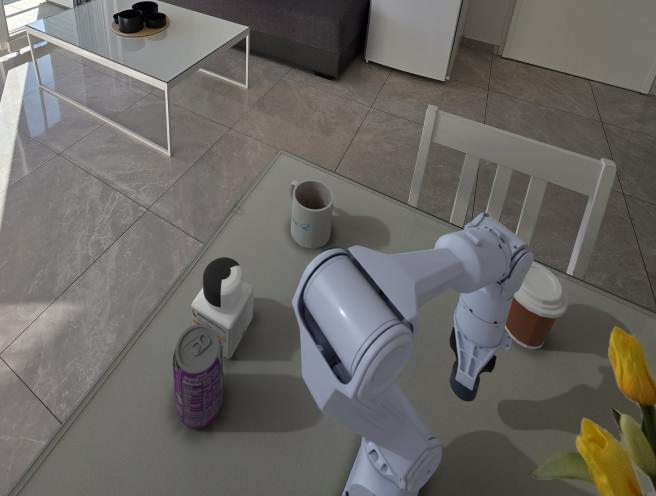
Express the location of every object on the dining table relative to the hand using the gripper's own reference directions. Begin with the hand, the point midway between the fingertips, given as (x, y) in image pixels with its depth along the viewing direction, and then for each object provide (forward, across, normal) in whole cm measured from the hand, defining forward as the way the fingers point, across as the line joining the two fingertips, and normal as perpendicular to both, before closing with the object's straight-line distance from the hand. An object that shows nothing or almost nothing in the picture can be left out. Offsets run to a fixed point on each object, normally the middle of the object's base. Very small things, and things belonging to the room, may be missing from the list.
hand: (467, 368), depth 61 cm
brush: (+4, 0, 0) cm, 4 cm away
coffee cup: (+11, +20, -7) cm, 23 cm away
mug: (+10, +15, +35) cm, 40 cm away
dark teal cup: (+10, +7, +24) cm, 27 cm away
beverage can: (+10, -22, +32) cm, 40 cm away
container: (+10, -12, +36) cm, 39 cm away
